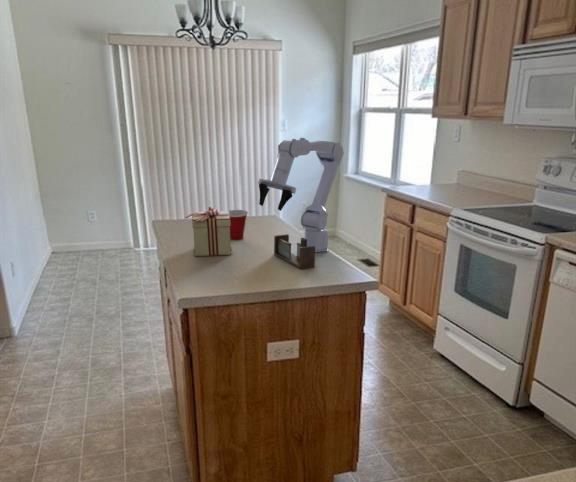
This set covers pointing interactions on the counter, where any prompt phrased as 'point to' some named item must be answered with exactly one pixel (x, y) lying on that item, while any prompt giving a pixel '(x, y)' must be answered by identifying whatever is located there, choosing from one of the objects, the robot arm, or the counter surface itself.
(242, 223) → the plastic cup
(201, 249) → the gift box
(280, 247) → the window frame
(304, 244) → the sliding pane
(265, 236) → the counter surface
